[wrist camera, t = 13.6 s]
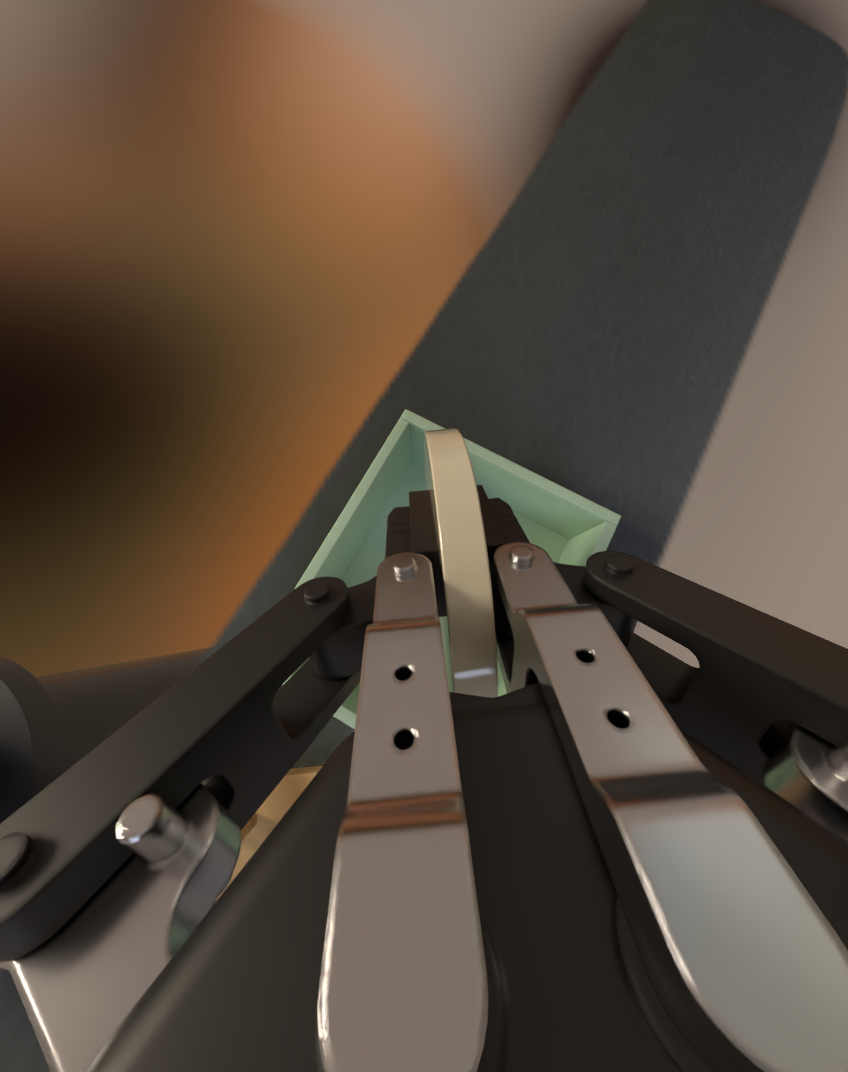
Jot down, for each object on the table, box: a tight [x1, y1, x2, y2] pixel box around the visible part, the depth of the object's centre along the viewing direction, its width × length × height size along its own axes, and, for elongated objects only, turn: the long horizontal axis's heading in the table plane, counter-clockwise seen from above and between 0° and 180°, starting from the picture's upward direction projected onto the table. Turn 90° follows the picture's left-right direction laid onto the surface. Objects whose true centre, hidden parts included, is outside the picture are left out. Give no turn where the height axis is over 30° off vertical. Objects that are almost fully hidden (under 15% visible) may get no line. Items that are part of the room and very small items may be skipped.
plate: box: [424, 428, 498, 698], centre depth 12 cm, size 1×10×10 cm, turn 6°
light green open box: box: [282, 409, 621, 729], centre depth 20 cm, size 15×13×6 cm
